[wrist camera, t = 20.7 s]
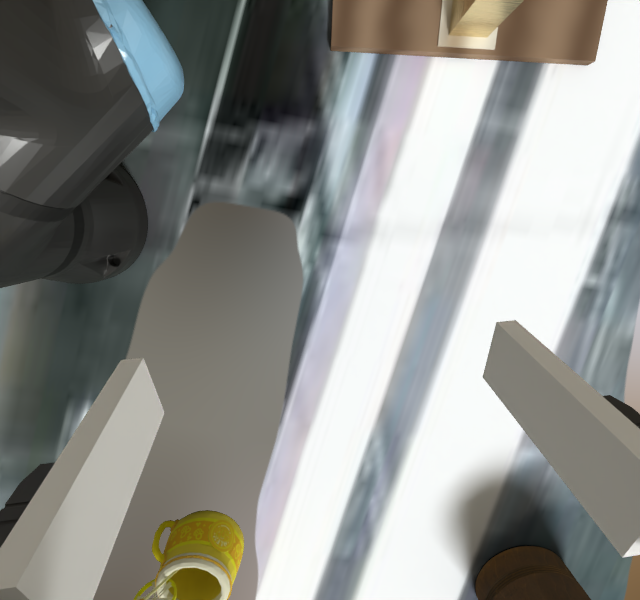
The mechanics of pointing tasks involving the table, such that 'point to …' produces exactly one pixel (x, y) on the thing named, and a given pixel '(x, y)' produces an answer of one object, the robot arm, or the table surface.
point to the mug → (197, 558)
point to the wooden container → (527, 577)
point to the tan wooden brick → (479, 16)
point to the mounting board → (434, 40)
